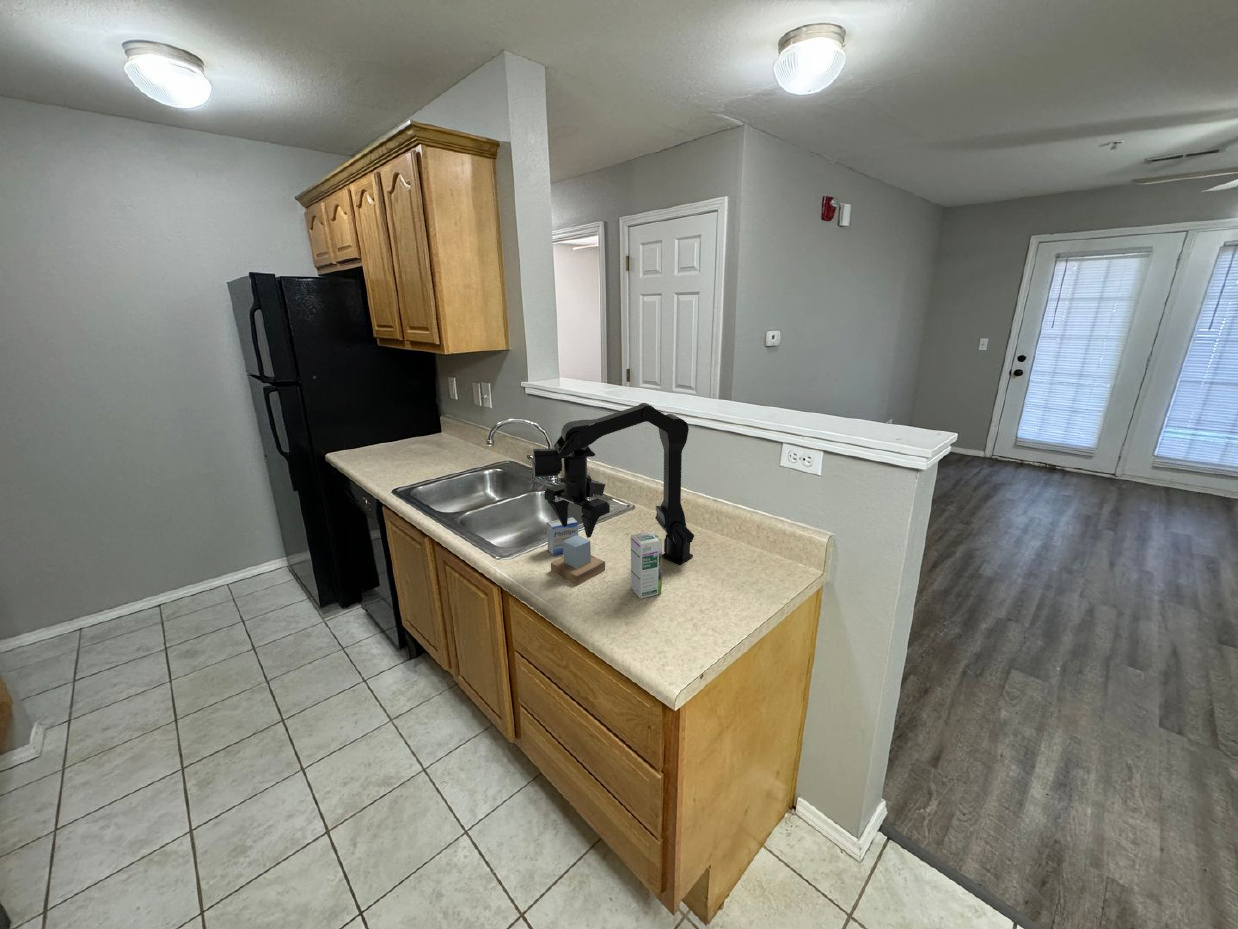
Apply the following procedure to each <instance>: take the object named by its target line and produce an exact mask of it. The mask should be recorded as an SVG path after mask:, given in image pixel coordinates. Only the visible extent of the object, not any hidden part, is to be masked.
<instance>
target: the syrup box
mask: <svg viewBox="0 0 1238 929" xmlns="http://www.w3.org/2000/svg"><path fill="white" fill-rule="evenodd" d="M662 554H663V539H662V538H661V537H660V536H659V535H658V534H657V533H655V532H654V531H653V530H651V531H648V532H641V533H637V534H631V535H630V588H631V590H632V591H633V592H634V594H635V595H636V596H637V597H638V598H639V599H641V600H642V599H645V598H648V597H652V596H657V595H661V594H662V584H663V583H662V581H663V580H662V579H663V578H662V573H663V572H662V571H663V557H662Z"/></svg>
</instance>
